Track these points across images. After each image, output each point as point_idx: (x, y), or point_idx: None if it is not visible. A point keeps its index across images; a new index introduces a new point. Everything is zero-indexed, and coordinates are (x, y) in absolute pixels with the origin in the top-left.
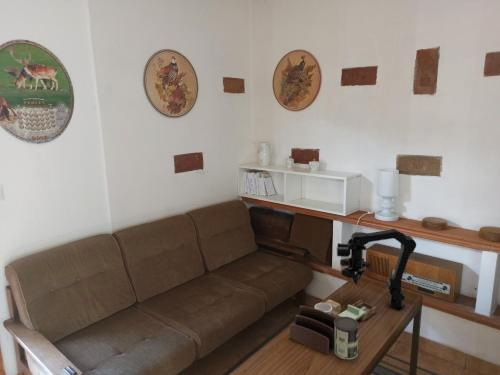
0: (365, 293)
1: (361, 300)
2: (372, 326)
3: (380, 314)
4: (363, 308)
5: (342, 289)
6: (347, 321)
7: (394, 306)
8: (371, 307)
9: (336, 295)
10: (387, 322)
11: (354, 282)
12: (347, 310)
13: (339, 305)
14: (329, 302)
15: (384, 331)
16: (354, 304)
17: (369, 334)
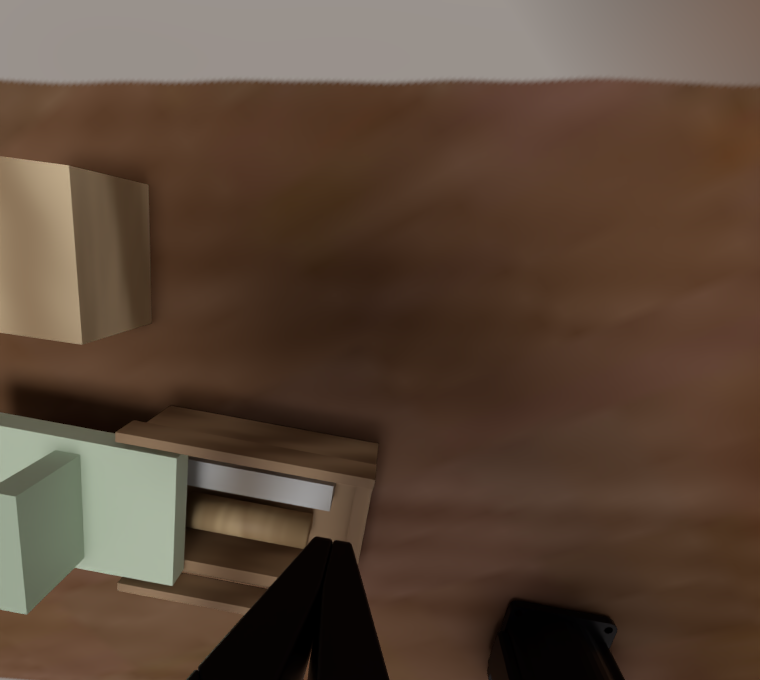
0: (651, 370)
1: (348, 481)
2: None
3: None
4: (297, 495)
5: (613, 98)
6: None
7: (494, 677)
8: None
9: (420, 116)
10: None
11: (292, 568)
12: (53, 451)
13: (66, 340)
14: (9, 209)
15: (174, 658)
16: (215, 457)
17: (71, 602)
